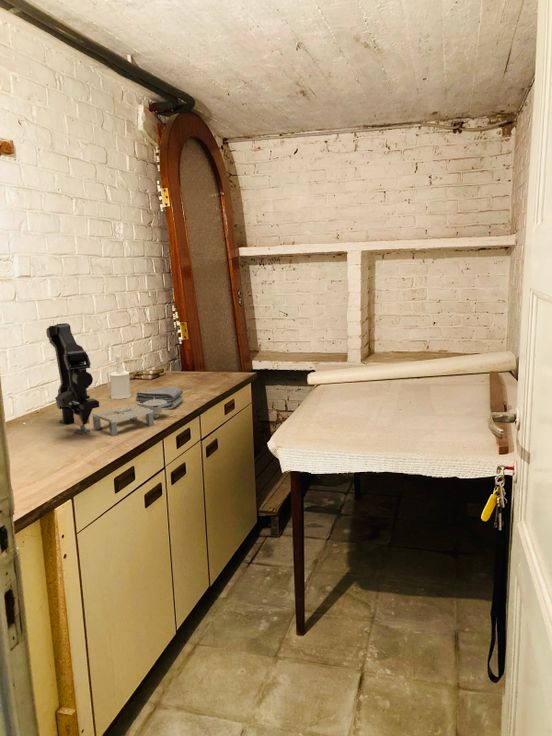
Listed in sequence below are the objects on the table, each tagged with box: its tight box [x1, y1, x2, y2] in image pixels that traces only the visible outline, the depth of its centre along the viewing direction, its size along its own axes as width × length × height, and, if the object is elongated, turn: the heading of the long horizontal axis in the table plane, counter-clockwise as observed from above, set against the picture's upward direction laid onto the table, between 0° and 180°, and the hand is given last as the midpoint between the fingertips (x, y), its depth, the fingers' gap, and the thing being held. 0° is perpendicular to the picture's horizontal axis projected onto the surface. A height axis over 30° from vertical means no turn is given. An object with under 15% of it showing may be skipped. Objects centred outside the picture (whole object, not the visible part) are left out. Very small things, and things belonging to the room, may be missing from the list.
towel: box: [135, 386, 184, 410], centre depth 251 cm, size 15×18×8 cm
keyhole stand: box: [91, 403, 155, 437], centre depth 220 cm, size 14×18×6 cm
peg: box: [73, 412, 91, 435], centre depth 214 cm, size 4×4×8 cm
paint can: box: [106, 354, 132, 400], centre depth 267 cm, size 10×9×20 cm
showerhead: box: [143, 398, 167, 419], centre depth 232 cm, size 9×7×10 cm
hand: (82, 423), depth 214 cm, fingers closed on peg, 4 cm apart
